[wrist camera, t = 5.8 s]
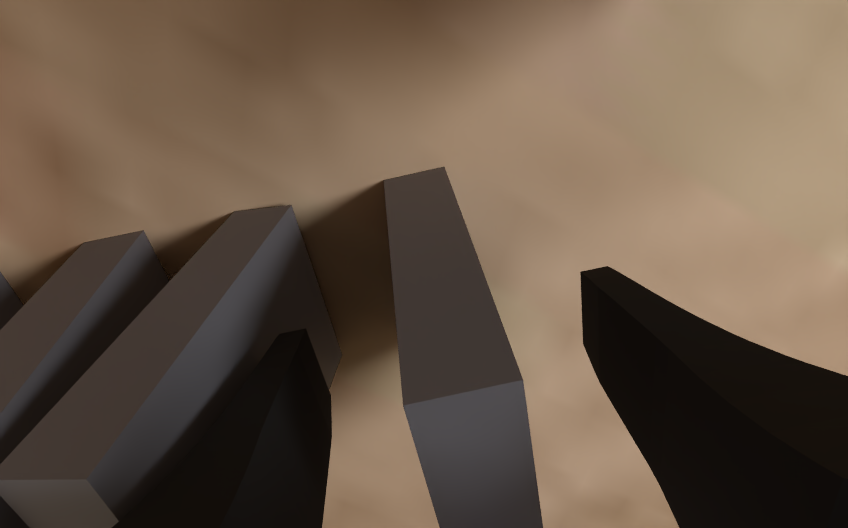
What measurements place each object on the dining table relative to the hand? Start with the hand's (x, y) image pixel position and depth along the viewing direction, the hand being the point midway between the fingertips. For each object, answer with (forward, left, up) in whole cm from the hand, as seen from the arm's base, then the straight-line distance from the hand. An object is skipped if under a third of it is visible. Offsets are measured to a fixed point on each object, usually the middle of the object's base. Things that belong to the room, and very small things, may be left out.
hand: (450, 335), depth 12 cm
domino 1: (0, 0, -4) cm, 4 cm away
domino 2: (0, +4, -3) cm, 5 cm away
